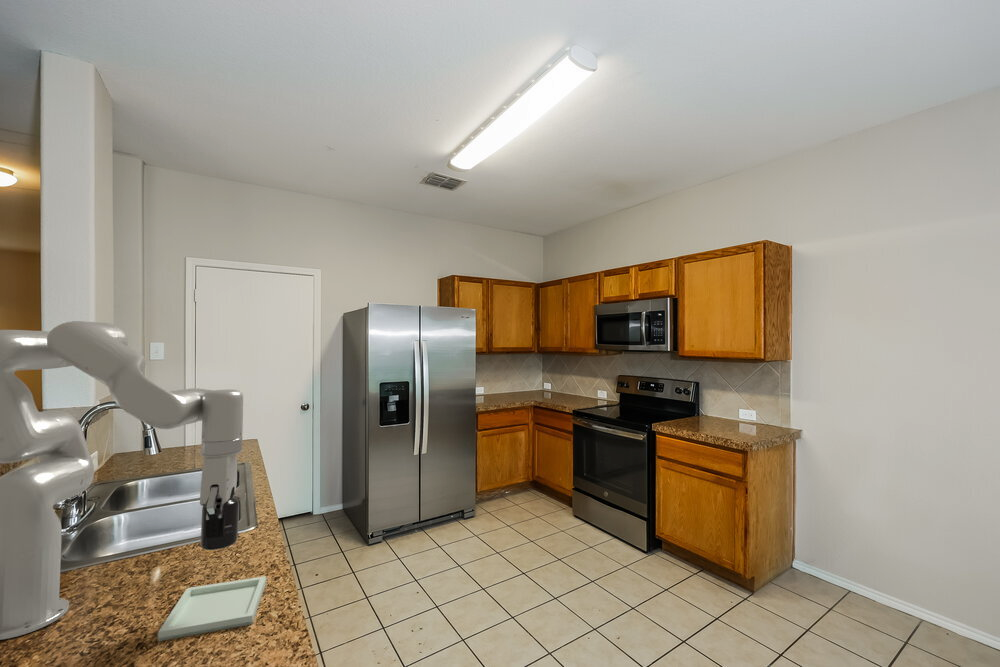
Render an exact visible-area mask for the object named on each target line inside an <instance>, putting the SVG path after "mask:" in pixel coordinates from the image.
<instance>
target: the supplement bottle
mask: <svg viewBox="0 0 1000 667" xmlns="http://www.w3.org/2000/svg"><path fill="white" fill-rule="evenodd" d="M234 491H235V492H234ZM235 495H236V490H235V486H234V487H233V488H232V491H231V495H230V499H229V500H228V501H227V502H226V503H224V510H223V516H225V519H224V535H223V536H222V537H216V538H206V515H207V513H206V512H207V503H206V504H205V505H204V506H202V509H201V526H200V547H201V549H203V550H205V551H217V550H222V549H226V548H228V547H231V546H232V545H234V544H236V542H237V540H238V538H239V537H238V536H239V521H240V519H239V518H240V517H239V516H240V501H239V500H238V498H237V497H234V496H235ZM221 501H222V500H216V502H221ZM216 508H218V509H220V506H216Z"/></svg>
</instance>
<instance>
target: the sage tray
mask: <svg viewBox="0 0 1000 667" xmlns="http://www.w3.org/2000/svg"><path fill="white" fill-rule="evenodd" d="M266 585H267V575H265V576H259V577H251V578H245V579H244V578H243V579H238V580H232V581H230V580H229V581H223V582H219V583H211V584H206V585H200V586H199V585H197V586H192V587H187V588H186V589H185V591H184V592H183V594H182V595H181V597H180V598H179V600H178V602H177V603H176V604H175V606H174V607H173V609H172V610H171V611H170V613H169V615H168V616H167V618H166V620H165V621H164V622H163V624H162V625H161V627H160V628H159V630H158V631H157V642H163V641H169V640H173V639H178V638H186V637H190V636H195V635H201V634H208V633H211V632H218V631H224V630H229V629H234V628H238V627H244V626H245V627H246V626H251V625H253V624H254V621H255V617H256V614H257V611H258V608H259V605H260V603H261V599H262V596H263V594H264V590H265V588H266Z"/></svg>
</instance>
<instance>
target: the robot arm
mask: <svg viewBox="0 0 1000 667" xmlns="http://www.w3.org/2000/svg"><path fill="white" fill-rule="evenodd" d="M128 344H129V340H128V337H127V334H126V332H124V330H123V329H121V328H120V327H118V326H116V325H114V324H112V323H107V322H98V321H97V322H95V321H83V320H82V321H80V320H79V321H77V320H75V321H73V320H72V321H68V322H64V323H61V324H58V325H57V326H55V327H53V328H52V329H50V330H49V331H48V330H25V329H0V464H13V463H17V462H21V461H25V460H30V459H34V458H37V457H38V459H39V461H40V462H36V463H33V464H30V465H25V466H23V467H19V468H16V469H14V470H12V471H9V472H7V473H5V474H4V475H2V476H1V477H0V641H2V640H9V639H12V638H17V637H20V636H24V635H26V634H29V633H32V632H35V631H37V630H40V629H42V628H44V627H47V626H48V625H50V624H53V623H54V622H56V621H58V620H59V619H60V618H62V617H63V616H64V615H65V614H66V613H68V611H69V609H70V601H69V600H68V599H65V598H62V597H60V591H61V590H60V587H61V586H60V585H61V564H62V563H61V560H62V556H61V555H62V533H63V532H62V522H61V520H60V518H59V516H58V514H57V513H56V511H55V510H54V506H55V505H57V504H59V503H61V502H63V501H66V500H68V499H71V498H73V497H76V496H78V495H79V494H80V495H81V493H83V492H85V491H87V489H88V488H89V487H90V486H91V485H92V483H93V481H94V476H95V467H94V464H93V460H92V456H91V453H90V451H89V450H90V449H89V446H88V444H87V441H86V438H85V434H84V431H83V429H82V426H81V424H80V422H79V421H78V420H77V419H76V417H75V416H73V415H72V414H71V413H68V412H66V411H63V410H55V409H54V410H43V411H39V410H38V408H37V405H36V403H35V399H34V396H33V393H32V392H31V390H30V388H29V387H28V385H26V384H25V383H24V382H23V381H22V380H21V379H20V378H18V376H17V375H16V374H15V373H16V372H17V371H32V370H33V371H35V370H36V371H37V370H50V369H59V368H67V367H72V366H73V367H75V368H76V369H78V370H80V371H81V372H82V373H84V374H86V375H88V376H90V377H91V378H92V379H95V380H97V382H99V383H101V384H103V385H104V386H106V387H107V388H108V389H109V392H110V395H111V397H112V399H113V400H114V402H115V403H116V404H117V406H118V407H119V408H120V409H122V410H123V412H125V413H126V414H129V415H130V416H132V418H133V417H134V418H135V419H136V420H138V421H141V422H142V423H144V424H146V425H148V426H150V427H152V428H156V429H160V430H172V429H175V428H179V427H182V426H186V425H189V424H194V423H198V422H201V449H200V456H201V458H203V464H202V473H201V481H200V493H199V494H200V495H199V505H200V506H202V507H203V506H204V505H205V504H206V503H207V512H206V513H207V515H206V538H216V537H222V536H223V535H224V519H225V516H223V510H224V503H226V502H227V501H228V500H229V499H230V495H231V491H232V488H233V487H234V486H235V491H234V492H235V493H236V490H237V486H238V485H237V484H238V483H237V482H238V455H239V454H241V453H243V432H244V430H243V429H244V428H243V427H244V426H243V425H244V424H243V422H244V420H243V419H244V394H243V392H242V391H240V390H237V389H215V390H212V389H203V388H196V387H195V388H186V389H178V390H173V391H172V390H171V391H169V390H167V389H165V388H163V387H161V386H160V385H158V384H156V383H155V382H153V381H151V380H150V379H149V378H147V377H146V376H145V375H144V374H143V371H144V370H145V367H146V364H147V363H146V362H147V360H146V358H145V356H144V355H143V354H142V353H140V352H138V351H136V350H134V349H133V348H131V347H129V345H128ZM216 500H222V501H221V502H216ZM216 506H220V509H218V508H216Z"/></svg>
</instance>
